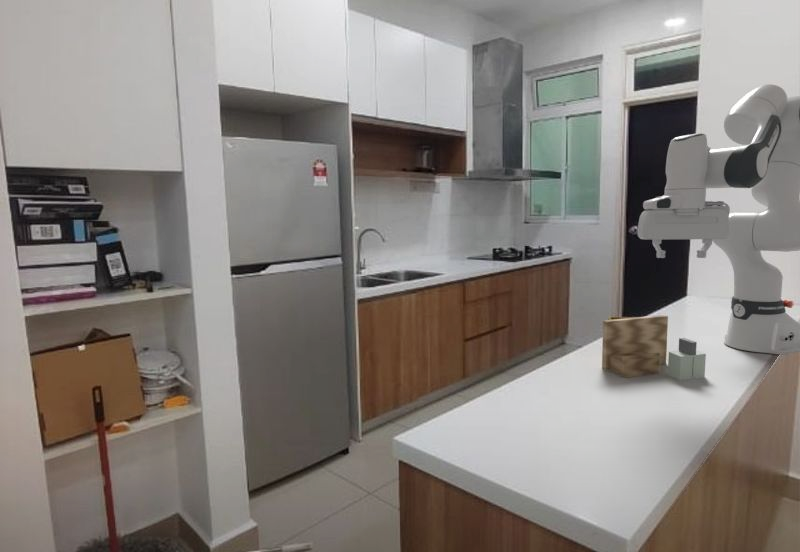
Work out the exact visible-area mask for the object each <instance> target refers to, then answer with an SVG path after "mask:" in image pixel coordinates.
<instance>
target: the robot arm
mask: <svg viewBox="0 0 800 552" xmlns="http://www.w3.org/2000/svg"><path fill="white" fill-rule="evenodd" d="M723 128H724V129H723V130H724V132H725V134H726V135H727V137H728V138H729V140H731V141H732V142H734V143H736V144H738V146H737V145H736V146H730V147H721V148H711V147H709V146H708V140H707V134H705V133H692V134H686V135H678V136H676V137H674V138H672V139H671V140H670V143H669V144H668V145H669V146H668V149H667V154H666V162H665V176H666V184H665V187H664V194H663V195H661V196H656V197H655V198H652V199H648V200H644V201H643V203H642V207H643V209H644V210H643V211H642V212H641V214H640V215H639V219H638V223H637V231H636V232H637V234H636V235H637V237H638V238H639V239H640V240H647V241H648V240H651V241H652V246H653V247H654V249H655V251H656V254H655V255H656V258H657V259H665V258H666V250H662V248H661V246H660V245H661V244H662V240H701V243H702V245H703V246H702V247H701V249H699V250H696V258H699V259H706V258H707V251H708V250H709V249H710V247H711V246H712V245H713V243H714V245H715V246H717V247H718V248H719V249H721V250H722V251H723V253H725V255H726V257H727V258H728V259H729V261H730V264H731V266H732V269H733V280H734V281H733V296H732V297H731V302H730V303H731V304H730V305H731V306H730V308H731V311H732V312H731V313H730V316H729V322H728V327H727V333H726V334H725V336H724V344H725V345H726V346H728V347H731V348H733V349H738V350H741V351H747V352H753V353H765V354H773V355H781V356H785V355H786V356H787V355H790V354H794V353H795V354H796V353H799V352H800V322H798V321H797V320H796V319H794V318H793V317H791V315H789V313H787V311H786V308H788V309H789V308H790V309H792V308H793V307H794V305H795V303H794V301H792V300H787V299H784V300H783V299H782V291H783V290H782V289H783V274H782V272H781V270H780V269H779V268H778V267H777V266H775V265H773V264H771V263H769V262H767V261H766V260H765V258H763V255H762V253H761V252H762V251H765V252H780V253H781V252H785V253H786V252H798V251H800V95H797V96H789V97H788V94H787V93H786V91H785V89H783V88H782V87H781V86H779V85H776V84H763V85H759V86H758V87H756V88H754V89H752V90H751V91H749V92H748V93H747V94H745V95H744V96H743V97H742V98H741V99H740V100H738V101H737V103H735V105H733V106H732V108H731V109H730V110H729V111H728V113H727V114H726V116H725V119H724V122H723ZM728 188H734V189H735V188H736V189H751V194H752V197H753V199H754V200H755V201H756V202H758V203H759V204H760V205H763V206H765V207H767V209H766V210H765V211H764V210H763V211H735V212H730V210H731V208H730V205H729V204H728V203H726V202H725V201H722V200H718V201H712V200H711V201H709V200H708V201H707V200H706V198H707V197H706V195H707V189H728Z"/></svg>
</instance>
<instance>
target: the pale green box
mask: <svg viewBox="0 0 800 552" xmlns="http://www.w3.org/2000/svg"><path fill="white" fill-rule="evenodd" d="M706 356H707V355H706V353H705V352H701V351H700V350H697V341H694V340H691V339H689V338H686V337H679V338H678V350H673V351H668V357H667V358H668V364H667V375H668V376H670V377H672V378H674V379H676V380H679V381H685V380H691V379H692V380H693V379H701V378H705V376H706V361H707V360H706V359H707V358H706Z"/></svg>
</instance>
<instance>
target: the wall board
mask: <svg viewBox="0 0 800 552" xmlns="http://www.w3.org/2000/svg"><path fill="white" fill-rule="evenodd" d="M635 317H636V318H624V319H613V320H608V319H606V320H605V319H604V320H602V352H601V353H602V356H601V357H602V358H601V359H602V360H601V369H602V370H604V371H609V372H612V373H614V374H616V375H618V376H620V377H622V378H624V379H625V378H633V377H640V376H641V377H642V376H650V375H659V374H660V365H665V364H667V348H668V347H667V346H668V326H669V325H668V323H669V322H668V321H669V316H668V315H665V314H658V315H648V316H639V317H638V316H635Z"/></svg>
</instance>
